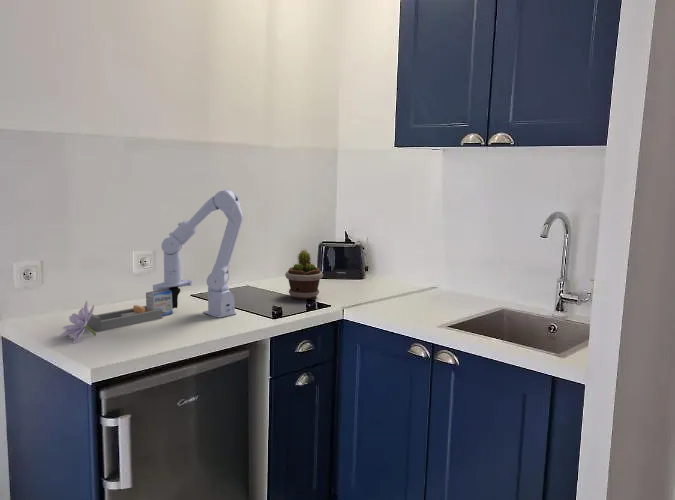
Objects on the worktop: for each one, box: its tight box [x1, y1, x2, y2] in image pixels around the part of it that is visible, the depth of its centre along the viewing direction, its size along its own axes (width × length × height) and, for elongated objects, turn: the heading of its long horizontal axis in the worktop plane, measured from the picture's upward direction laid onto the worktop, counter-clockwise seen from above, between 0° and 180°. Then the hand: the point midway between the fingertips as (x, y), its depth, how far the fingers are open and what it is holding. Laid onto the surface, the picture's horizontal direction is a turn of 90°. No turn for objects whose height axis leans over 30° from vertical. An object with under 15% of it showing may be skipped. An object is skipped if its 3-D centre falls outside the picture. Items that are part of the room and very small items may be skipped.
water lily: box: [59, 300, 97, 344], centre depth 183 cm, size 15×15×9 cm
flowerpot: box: [284, 249, 324, 301], centre depth 240 cm, size 14×15×20 cm
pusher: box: [121, 304, 146, 317], centre depth 201 cm, size 6×7×4 cm
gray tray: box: [87, 305, 163, 332], centre depth 200 cm, size 9×23×4 cm, turn 138°
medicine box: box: [145, 289, 173, 317], centre depth 209 cm, size 8×4×9 cm, turn 142°
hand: (173, 307), depth 213 cm, fingers closed
